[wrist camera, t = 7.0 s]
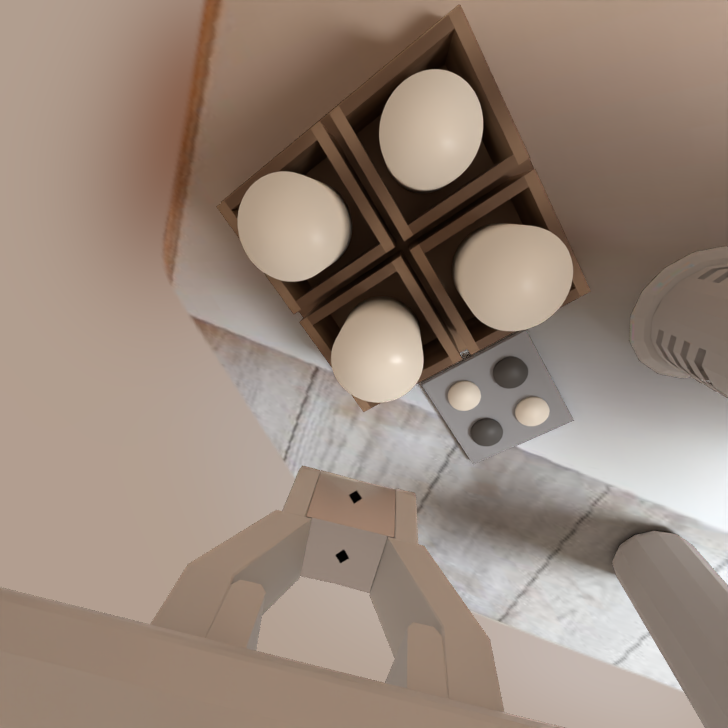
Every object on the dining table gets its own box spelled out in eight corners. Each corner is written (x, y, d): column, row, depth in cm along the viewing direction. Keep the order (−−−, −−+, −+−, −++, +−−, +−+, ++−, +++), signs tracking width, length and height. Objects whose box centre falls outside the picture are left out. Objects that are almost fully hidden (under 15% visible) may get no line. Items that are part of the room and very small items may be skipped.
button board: (574, 279, 27) (622, 298, 21) (367, 392, 32) (358, 434, 26) (454, 21, 22) (473, -50, 16) (233, 202, 27) (185, 199, 21)
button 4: (433, 345, 25) (440, 376, 20) (370, 380, 26) (363, 416, 21) (394, 281, 23) (391, 297, 19) (330, 321, 25) (312, 346, 20)
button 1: (481, 161, 23) (501, 147, 18) (410, 209, 24) (412, 209, 20) (441, 79, 21) (451, 42, 17) (368, 136, 23) (359, 116, 18)
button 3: (551, 280, 22) (589, 297, 18) (475, 322, 24) (492, 348, 19) (515, 204, 21) (546, 202, 16) (436, 254, 22) (445, 264, 18)
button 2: (368, 238, 23) (359, 245, 18) (303, 283, 24) (279, 300, 19) (320, 161, 21) (297, 147, 17) (255, 213, 23) (216, 213, 18)
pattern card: (570, 416, 31) (575, 422, 30) (472, 460, 34) (473, 466, 33) (524, 327, 29) (527, 331, 28) (421, 382, 31) (421, 386, 30)
